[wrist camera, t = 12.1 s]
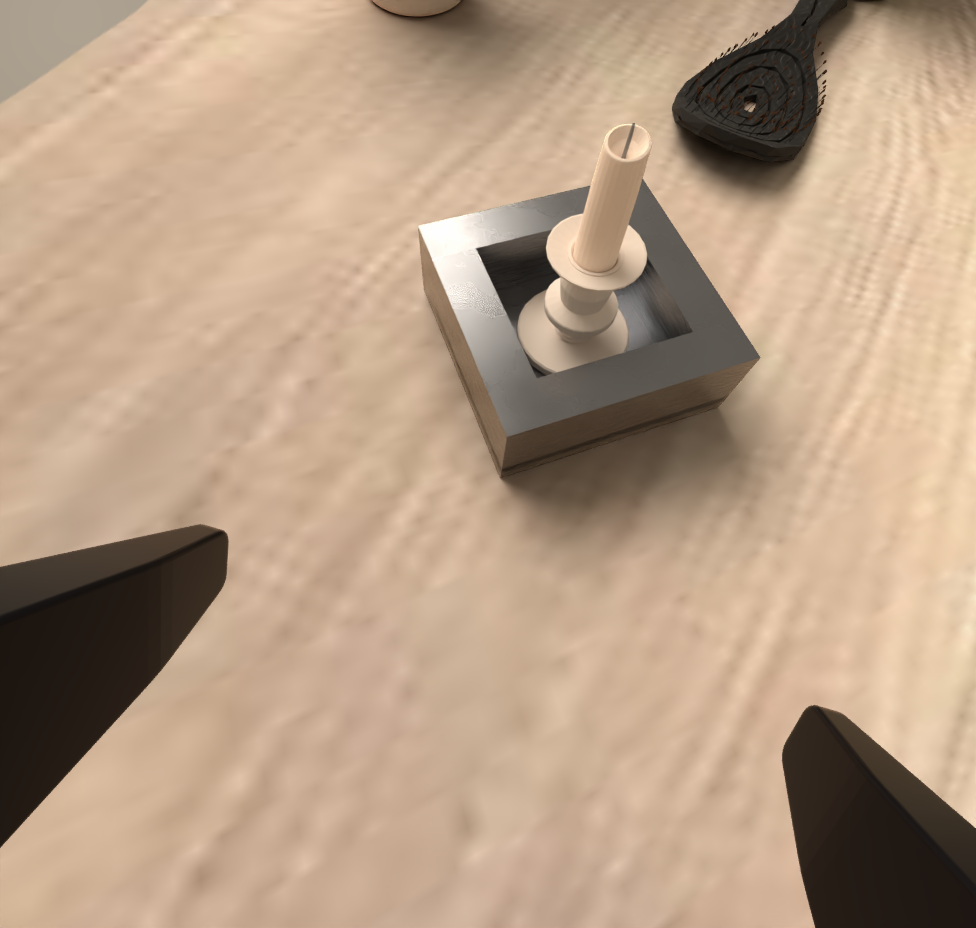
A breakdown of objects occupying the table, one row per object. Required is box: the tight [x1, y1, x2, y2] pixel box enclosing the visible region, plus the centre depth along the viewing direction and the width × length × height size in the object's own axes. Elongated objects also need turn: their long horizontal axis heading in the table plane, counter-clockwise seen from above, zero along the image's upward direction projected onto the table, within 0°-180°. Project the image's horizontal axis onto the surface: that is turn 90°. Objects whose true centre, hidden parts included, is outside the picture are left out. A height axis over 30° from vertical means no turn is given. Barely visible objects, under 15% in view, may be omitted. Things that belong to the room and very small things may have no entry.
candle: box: [517, 123, 652, 375], centre depth 21 cm, size 5×5×10 cm
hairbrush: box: [672, 0, 848, 162], centre depth 36 cm, size 8×4×25 cm
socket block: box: [418, 179, 760, 478], centre depth 25 cm, size 11×11×4 cm
